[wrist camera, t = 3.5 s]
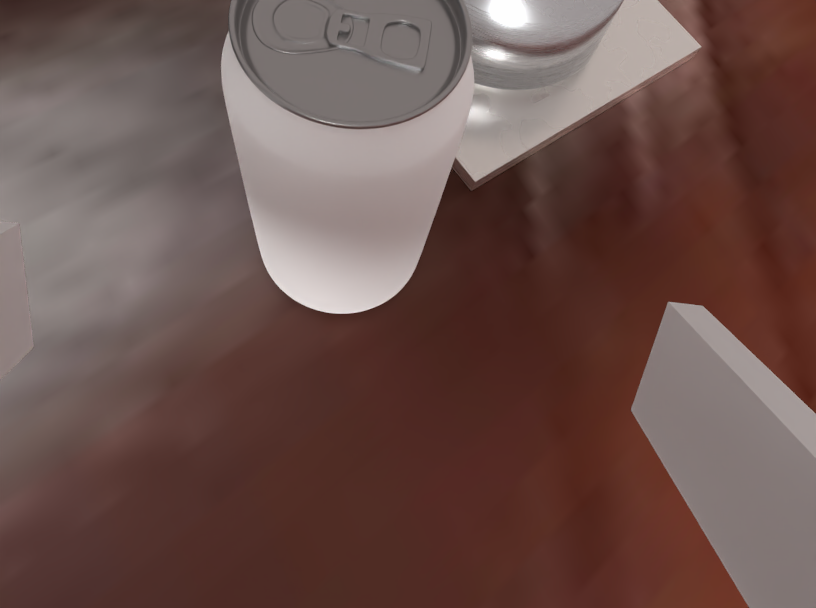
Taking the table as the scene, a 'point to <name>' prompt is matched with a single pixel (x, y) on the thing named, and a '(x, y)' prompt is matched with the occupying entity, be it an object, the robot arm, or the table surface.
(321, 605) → the table surface
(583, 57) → the duct collar
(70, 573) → the table surface
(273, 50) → the can
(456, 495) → the table surface
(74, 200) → the table surface
